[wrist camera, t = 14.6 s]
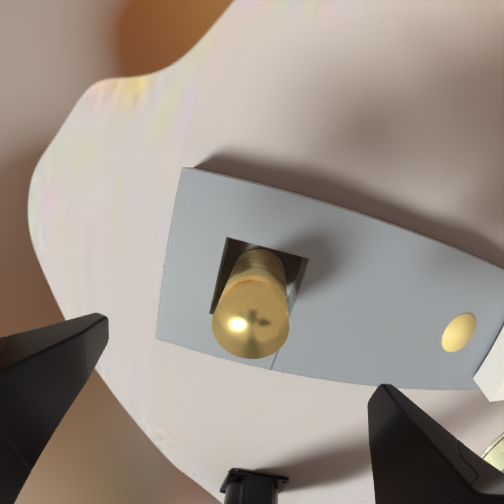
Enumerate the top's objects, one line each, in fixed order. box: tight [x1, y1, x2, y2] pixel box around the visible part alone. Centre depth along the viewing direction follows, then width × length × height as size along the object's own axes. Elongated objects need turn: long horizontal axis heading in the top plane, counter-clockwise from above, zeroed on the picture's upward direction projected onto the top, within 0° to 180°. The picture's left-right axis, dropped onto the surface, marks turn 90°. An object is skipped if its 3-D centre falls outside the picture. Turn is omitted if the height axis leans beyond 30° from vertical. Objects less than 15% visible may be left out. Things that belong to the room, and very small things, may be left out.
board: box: [156, 168, 504, 390], centre depth 15 cm, size 10×32×2 cm, turn 76°
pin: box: [212, 249, 289, 359], centre depth 14 cm, size 3×3×6 cm
